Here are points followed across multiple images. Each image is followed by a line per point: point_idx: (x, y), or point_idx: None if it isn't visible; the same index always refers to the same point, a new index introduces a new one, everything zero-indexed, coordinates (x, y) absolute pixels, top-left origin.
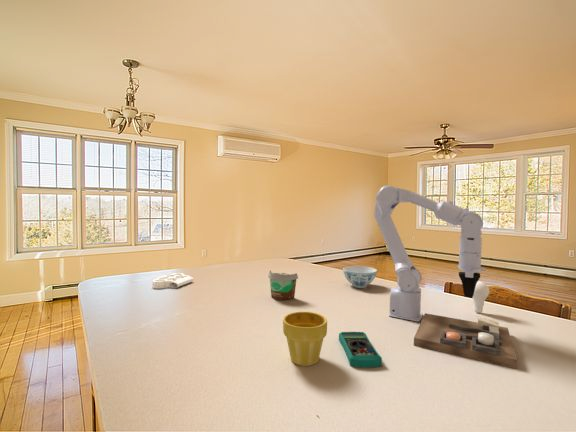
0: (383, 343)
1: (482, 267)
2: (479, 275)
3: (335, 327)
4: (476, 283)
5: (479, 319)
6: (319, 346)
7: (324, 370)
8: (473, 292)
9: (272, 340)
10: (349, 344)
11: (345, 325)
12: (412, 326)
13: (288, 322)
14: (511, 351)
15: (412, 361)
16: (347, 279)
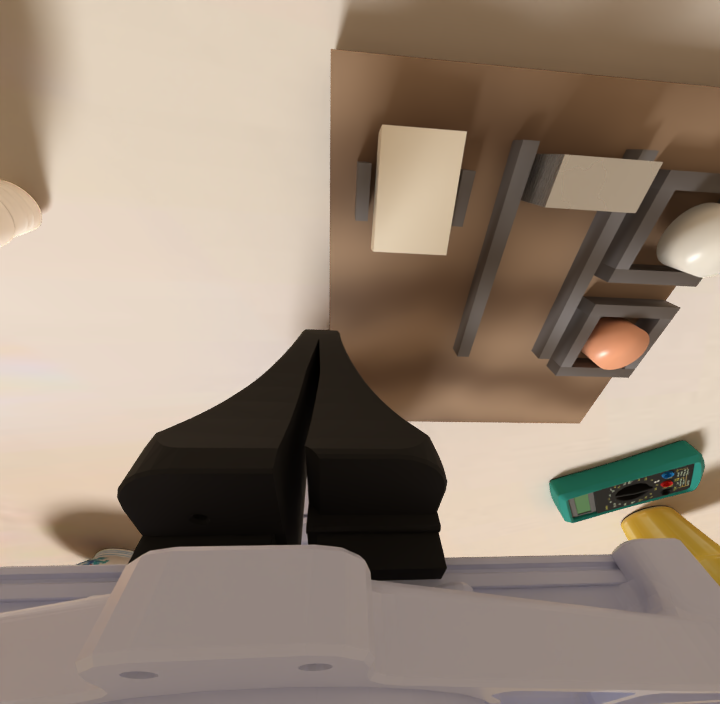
0: (563, 454)
1: (144, 683)
2: (274, 458)
3: (491, 523)
4: (379, 399)
5: (432, 249)
6: (703, 537)
7: (690, 493)
8: (345, 350)
9: None
10: (631, 502)
11: (473, 515)
12: (419, 422)
13: None
14: (710, 105)
15: (664, 399)
16: None
